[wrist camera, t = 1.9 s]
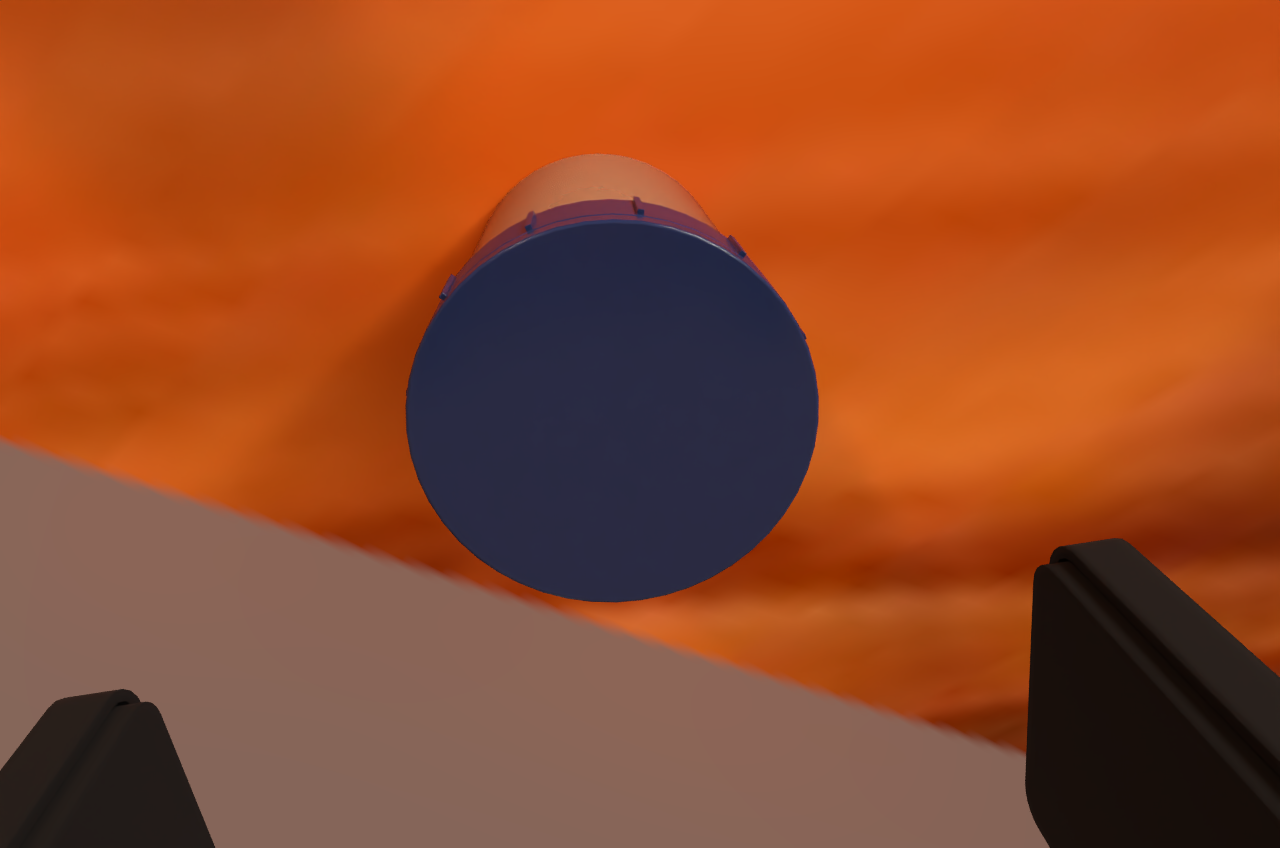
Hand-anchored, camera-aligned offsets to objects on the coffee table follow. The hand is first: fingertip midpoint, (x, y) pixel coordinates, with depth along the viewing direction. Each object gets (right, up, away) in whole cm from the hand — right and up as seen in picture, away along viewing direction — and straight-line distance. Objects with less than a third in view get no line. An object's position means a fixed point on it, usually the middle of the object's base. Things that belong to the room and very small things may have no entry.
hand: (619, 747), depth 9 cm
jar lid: (0, +3, +7) cm, 8 cm away
